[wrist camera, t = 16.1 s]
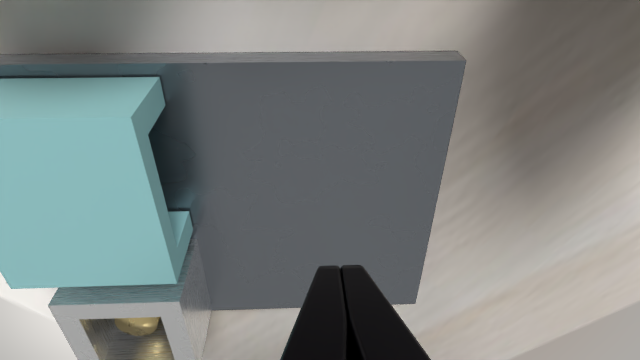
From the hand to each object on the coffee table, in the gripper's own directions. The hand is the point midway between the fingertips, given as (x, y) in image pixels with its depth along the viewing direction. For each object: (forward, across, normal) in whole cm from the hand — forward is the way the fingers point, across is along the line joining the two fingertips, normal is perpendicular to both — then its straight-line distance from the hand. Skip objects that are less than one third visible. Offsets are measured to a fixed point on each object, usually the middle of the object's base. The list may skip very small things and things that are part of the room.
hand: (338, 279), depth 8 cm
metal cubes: (+12, +4, +7) cm, 14 cm away
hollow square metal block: (+11, +9, +12) cm, 18 cm away
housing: (+11, +10, +4) cm, 15 cm away
